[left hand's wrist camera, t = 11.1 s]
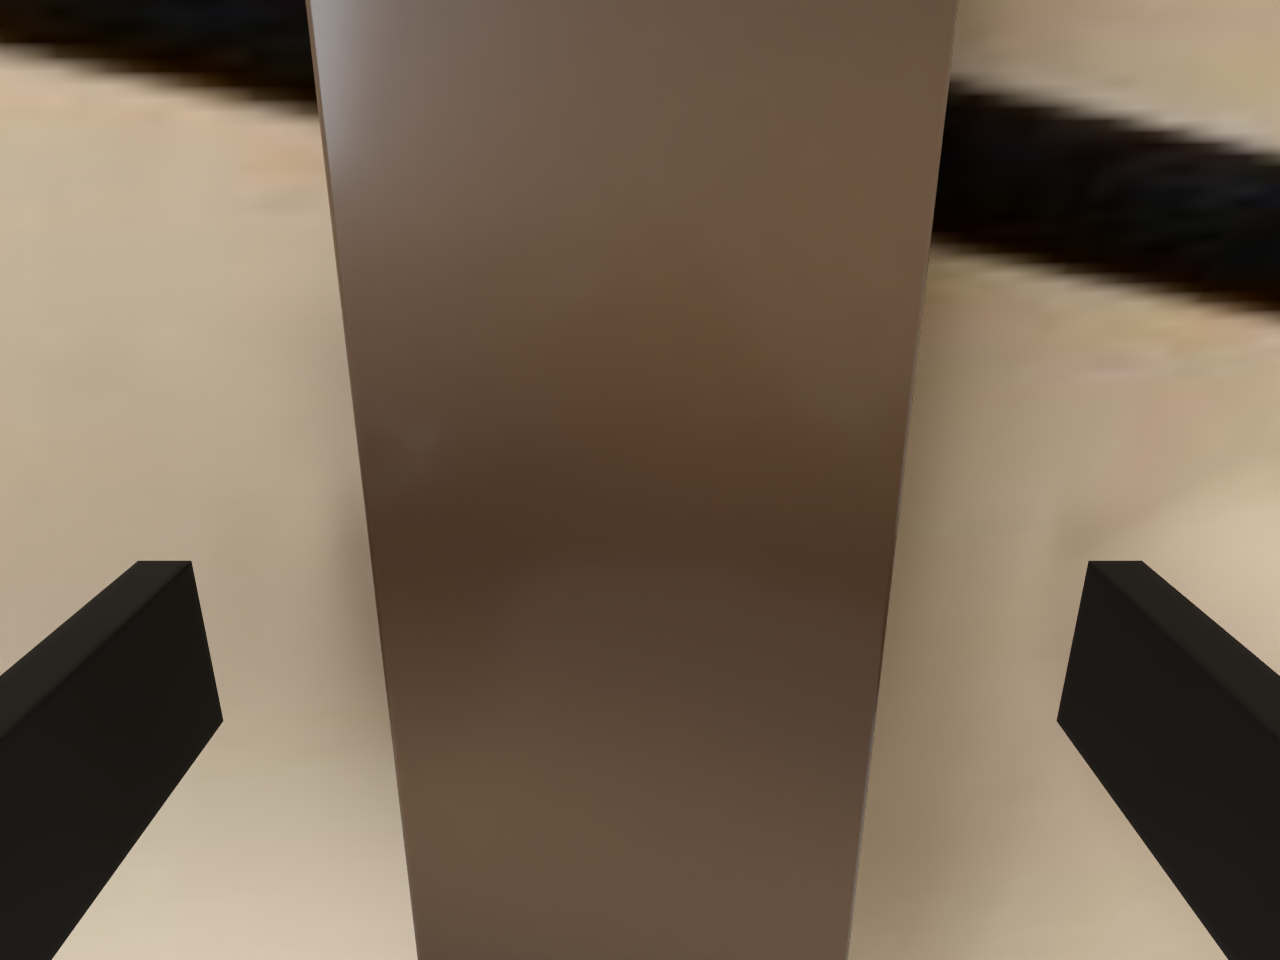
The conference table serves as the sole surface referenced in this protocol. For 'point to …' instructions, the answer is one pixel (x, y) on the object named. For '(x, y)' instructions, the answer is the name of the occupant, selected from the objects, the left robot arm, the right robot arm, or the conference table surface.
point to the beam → (632, 446)
